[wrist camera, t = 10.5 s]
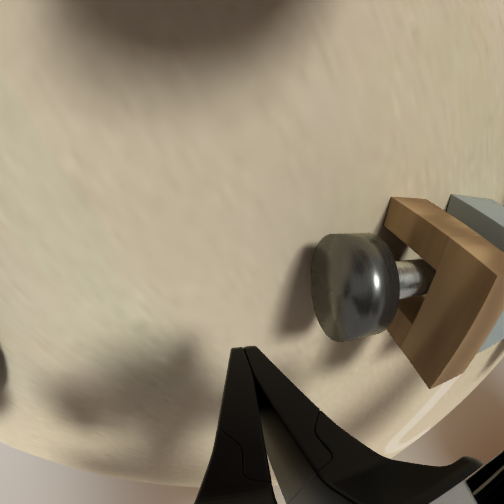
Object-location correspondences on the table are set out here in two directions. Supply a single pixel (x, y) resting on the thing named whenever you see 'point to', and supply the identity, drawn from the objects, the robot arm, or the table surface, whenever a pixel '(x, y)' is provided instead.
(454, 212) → the block
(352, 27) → the table surface
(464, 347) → the block
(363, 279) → the shaft
